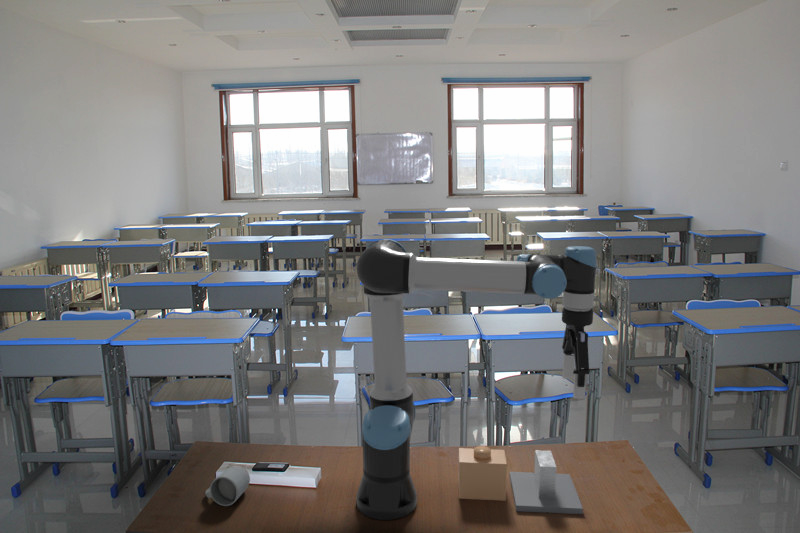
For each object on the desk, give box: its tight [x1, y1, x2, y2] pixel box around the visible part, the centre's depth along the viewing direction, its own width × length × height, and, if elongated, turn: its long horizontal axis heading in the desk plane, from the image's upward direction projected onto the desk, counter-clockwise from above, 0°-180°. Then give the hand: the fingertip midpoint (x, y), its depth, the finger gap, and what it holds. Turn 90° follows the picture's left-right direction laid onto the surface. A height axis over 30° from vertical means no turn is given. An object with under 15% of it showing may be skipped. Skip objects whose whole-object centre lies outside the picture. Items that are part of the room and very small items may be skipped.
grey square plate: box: [508, 449, 584, 515], centre depth 148 cm, size 16×16×10 cm
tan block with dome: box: [457, 445, 508, 502], centre depth 149 cm, size 12×7×12 cm, turn 85°
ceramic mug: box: [205, 465, 251, 507], centre depth 147 cm, size 11×8×8 cm
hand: (573, 387), depth 149 cm, fingers open, 13 cm apart
